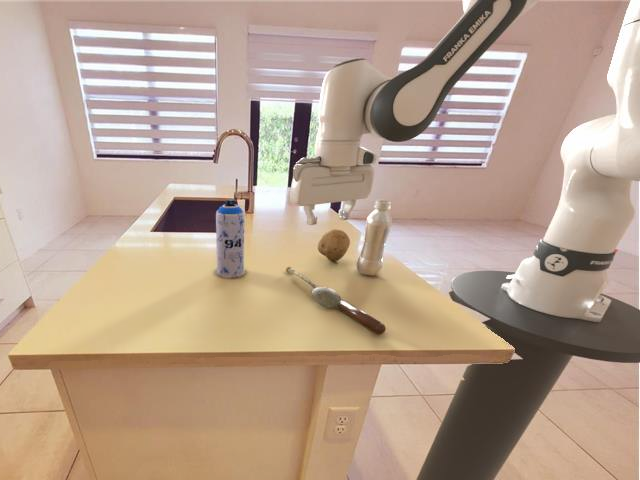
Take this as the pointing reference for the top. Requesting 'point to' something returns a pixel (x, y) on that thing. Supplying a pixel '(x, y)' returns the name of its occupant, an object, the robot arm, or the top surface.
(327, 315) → the top surface
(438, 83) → the robot arm
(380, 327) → the walnut dowel
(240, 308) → the top surface
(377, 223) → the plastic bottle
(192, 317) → the top surface
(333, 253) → the potato
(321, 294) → the soupspoon
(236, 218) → the aerosol can
